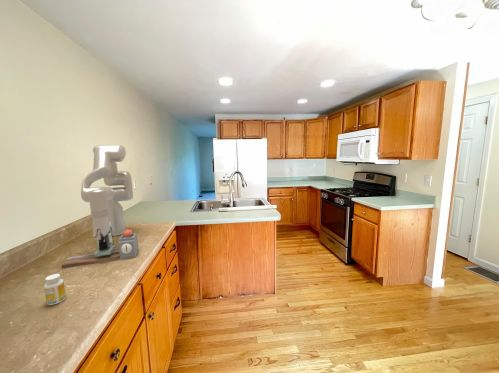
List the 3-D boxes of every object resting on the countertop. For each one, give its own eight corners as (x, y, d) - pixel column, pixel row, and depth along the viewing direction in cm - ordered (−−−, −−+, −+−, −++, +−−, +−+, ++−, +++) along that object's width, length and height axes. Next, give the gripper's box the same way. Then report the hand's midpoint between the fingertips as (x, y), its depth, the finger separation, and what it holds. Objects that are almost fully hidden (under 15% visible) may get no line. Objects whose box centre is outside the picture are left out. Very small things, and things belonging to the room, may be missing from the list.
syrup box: (106, 247, 124) (103, 223, 122) (97, 247, 126) (94, 223, 123) (114, 243, 130) (111, 220, 128) (105, 243, 131) (102, 220, 129)
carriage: (100, 249, 115) (98, 234, 113) (115, 247, 117) (113, 232, 115) (94, 256, 107) (92, 240, 106) (110, 254, 109) (108, 238, 108)
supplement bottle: (48, 307, 76) (43, 282, 74) (45, 301, 79) (41, 277, 78) (67, 299, 80) (63, 275, 78) (64, 294, 83) (60, 271, 82)
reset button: (124, 234, 116) (123, 230, 115) (133, 233, 117) (132, 229, 117) (122, 237, 112) (121, 233, 111) (131, 236, 113) (131, 231, 113)
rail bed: (71, 258, 112) (70, 253, 111) (123, 251, 119) (123, 246, 119) (61, 268, 102) (61, 263, 102) (119, 259, 110) (118, 254, 110)
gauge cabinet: (124, 251, 119) (122, 233, 118) (138, 249, 122) (136, 232, 120) (119, 260, 109) (117, 241, 108) (135, 257, 112) (133, 239, 110)
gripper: (97, 210, 115) (101, 242, 118) (84, 218, 100) (90, 255, 103) (113, 208, 118) (117, 240, 120) (103, 216, 102) (108, 253, 105)
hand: (104, 247), depth 112 cm, fingers closed on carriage, 3 cm apart
